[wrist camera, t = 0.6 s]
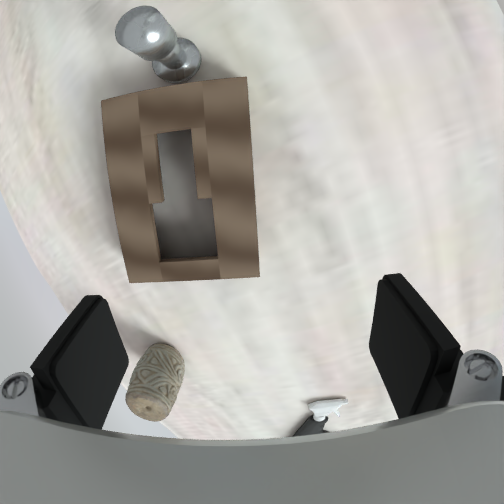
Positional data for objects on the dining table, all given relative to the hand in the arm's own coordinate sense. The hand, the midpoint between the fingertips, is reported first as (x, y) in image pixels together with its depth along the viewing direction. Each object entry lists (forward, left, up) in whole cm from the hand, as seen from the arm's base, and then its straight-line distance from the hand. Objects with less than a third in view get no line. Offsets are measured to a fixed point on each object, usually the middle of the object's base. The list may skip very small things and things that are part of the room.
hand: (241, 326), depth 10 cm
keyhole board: (-1, -7, -28) cm, 29 cm away
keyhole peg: (-16, -7, -28) cm, 33 cm away
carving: (+26, -15, -29) cm, 42 cm away
